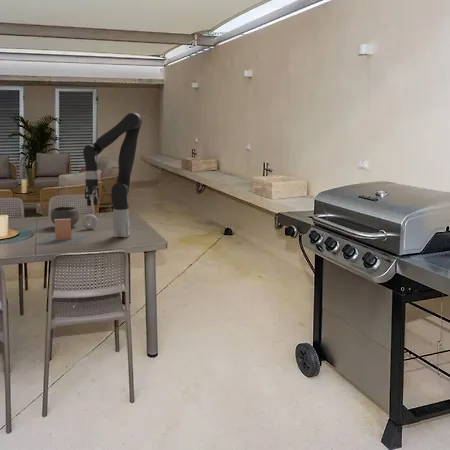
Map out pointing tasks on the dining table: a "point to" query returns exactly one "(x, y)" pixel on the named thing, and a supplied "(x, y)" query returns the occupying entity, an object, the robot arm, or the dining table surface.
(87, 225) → the donut
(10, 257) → the dining table surface
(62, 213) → the bowl
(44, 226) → the dining table surface
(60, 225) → the tile
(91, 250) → the dining table surface
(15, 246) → the dining table surface
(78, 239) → the mat
